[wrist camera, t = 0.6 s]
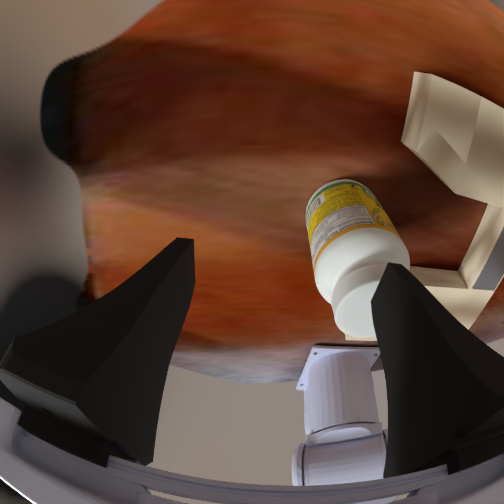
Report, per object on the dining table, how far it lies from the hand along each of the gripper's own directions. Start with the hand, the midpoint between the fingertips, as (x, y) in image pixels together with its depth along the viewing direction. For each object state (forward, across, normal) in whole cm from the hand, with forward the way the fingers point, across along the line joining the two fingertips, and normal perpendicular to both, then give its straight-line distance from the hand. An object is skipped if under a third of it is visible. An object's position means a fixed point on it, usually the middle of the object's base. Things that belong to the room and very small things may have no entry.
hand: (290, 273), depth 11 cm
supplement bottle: (+10, -4, +2) cm, 12 cm away
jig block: (+10, -14, +2) cm, 18 cm away
